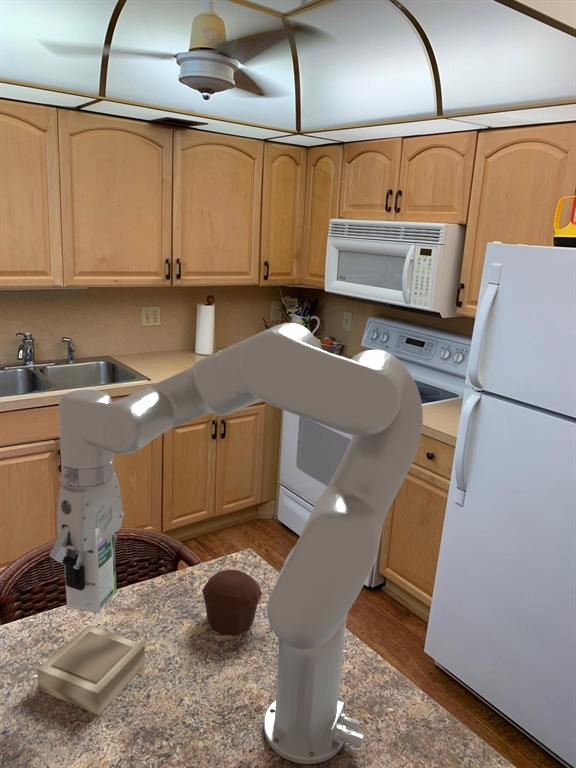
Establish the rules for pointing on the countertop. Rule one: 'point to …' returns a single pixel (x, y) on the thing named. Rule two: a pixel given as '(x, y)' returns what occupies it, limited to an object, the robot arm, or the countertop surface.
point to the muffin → (231, 602)
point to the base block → (91, 669)
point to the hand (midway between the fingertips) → (91, 575)
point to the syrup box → (95, 576)
